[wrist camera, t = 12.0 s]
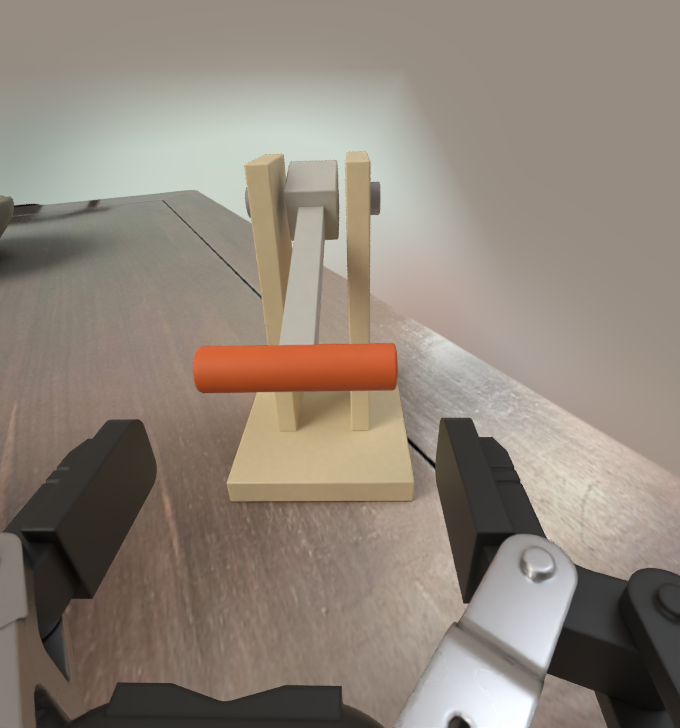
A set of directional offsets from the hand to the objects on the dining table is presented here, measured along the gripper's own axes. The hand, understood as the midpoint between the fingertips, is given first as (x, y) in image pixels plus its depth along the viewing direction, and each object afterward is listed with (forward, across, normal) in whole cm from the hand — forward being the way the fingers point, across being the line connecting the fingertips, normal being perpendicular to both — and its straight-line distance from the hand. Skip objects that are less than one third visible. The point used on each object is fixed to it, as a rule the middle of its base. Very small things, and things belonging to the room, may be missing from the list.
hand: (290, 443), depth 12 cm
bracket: (+12, 0, +9) cm, 15 cm away
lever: (+8, 0, -2) cm, 8 cm away
